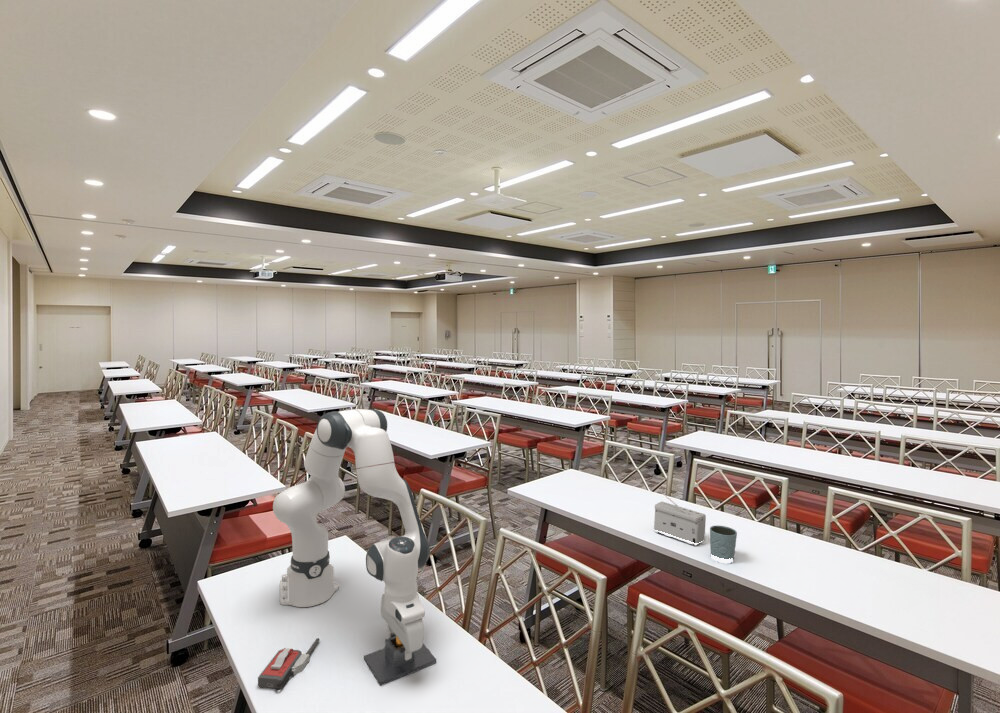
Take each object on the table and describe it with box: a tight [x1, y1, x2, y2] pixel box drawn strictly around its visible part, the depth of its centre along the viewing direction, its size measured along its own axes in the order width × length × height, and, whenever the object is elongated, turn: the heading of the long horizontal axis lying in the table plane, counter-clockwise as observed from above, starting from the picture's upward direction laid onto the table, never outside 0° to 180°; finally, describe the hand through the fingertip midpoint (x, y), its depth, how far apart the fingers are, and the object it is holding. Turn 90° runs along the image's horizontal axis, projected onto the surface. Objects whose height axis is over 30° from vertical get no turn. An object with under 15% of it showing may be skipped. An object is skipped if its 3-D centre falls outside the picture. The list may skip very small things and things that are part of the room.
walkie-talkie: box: [257, 637, 320, 691], centre depth 133 cm, size 9×4×20 cm
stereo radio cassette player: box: [653, 489, 707, 543], centre depth 221 cm, size 21×8×20 cm, turn 44°
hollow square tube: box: [384, 636, 415, 668], centre depth 136 cm, size 6×6×4 cm
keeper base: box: [363, 636, 437, 687], centre depth 136 cm, size 12×16×8 cm
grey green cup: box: [709, 525, 738, 559], centre depth 202 cm, size 10×10×12 cm
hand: (400, 648), depth 136 cm, fingers open, 8 cm apart
